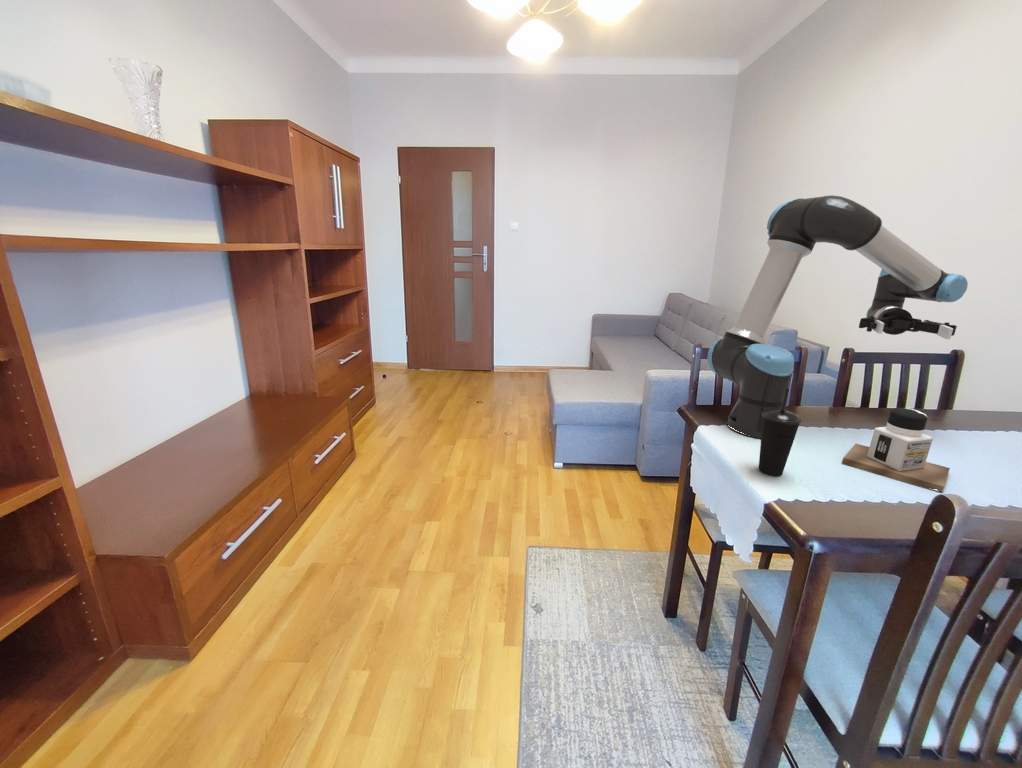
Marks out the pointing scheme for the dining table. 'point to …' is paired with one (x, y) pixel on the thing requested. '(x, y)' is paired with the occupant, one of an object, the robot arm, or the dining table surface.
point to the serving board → (923, 477)
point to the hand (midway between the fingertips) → (914, 331)
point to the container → (901, 440)
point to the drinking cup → (777, 438)
